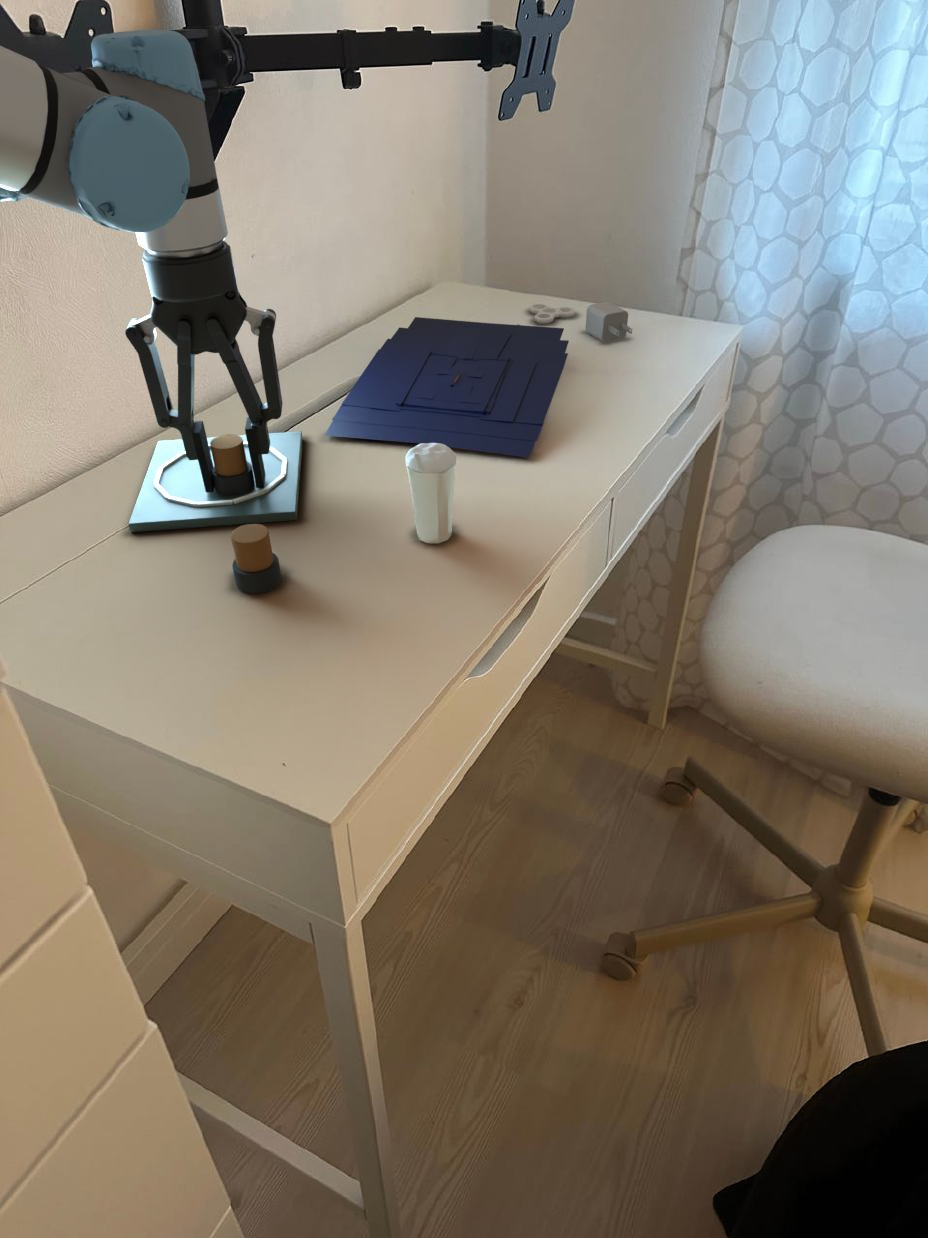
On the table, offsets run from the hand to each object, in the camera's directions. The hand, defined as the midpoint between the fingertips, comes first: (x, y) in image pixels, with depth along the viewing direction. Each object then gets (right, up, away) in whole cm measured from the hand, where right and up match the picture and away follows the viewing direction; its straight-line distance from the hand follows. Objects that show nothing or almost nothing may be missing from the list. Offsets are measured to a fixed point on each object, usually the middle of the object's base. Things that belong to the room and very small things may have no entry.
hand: (236, 483), depth 91 cm
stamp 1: (0, 0, 0) cm, 0 cm away
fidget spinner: (+36, +31, +41) cm, 62 cm away
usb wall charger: (+44, +25, +34) cm, 61 cm away
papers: (+23, +14, +19) cm, 33 cm away
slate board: (-2, +1, +3) cm, 4 cm away
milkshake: (+20, -6, -6) cm, 22 cm away
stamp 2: (+5, -11, -12) cm, 16 cm away
